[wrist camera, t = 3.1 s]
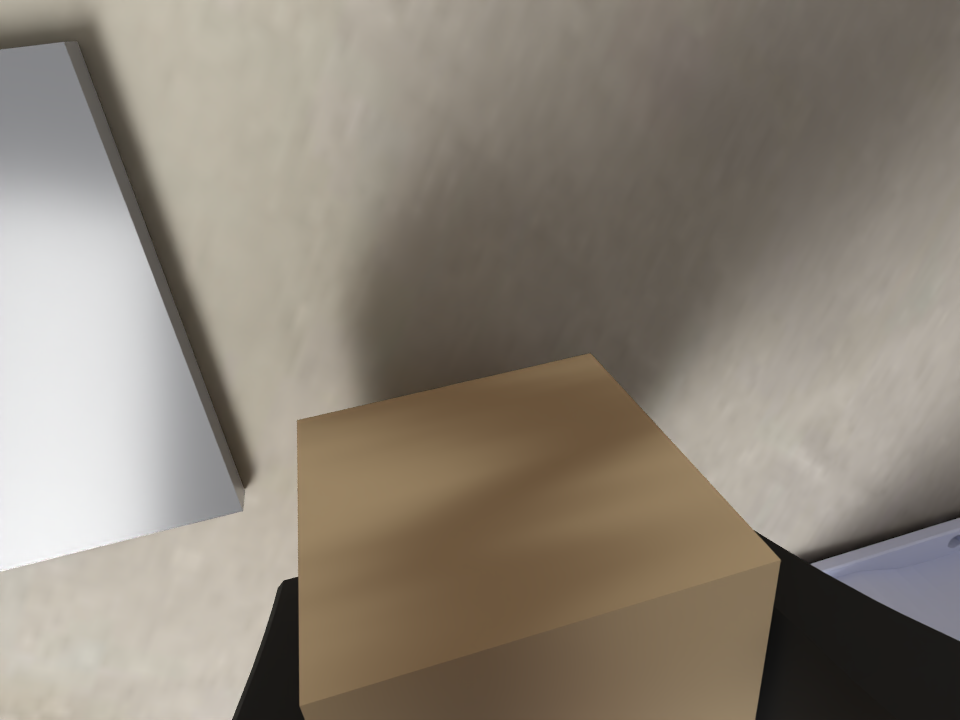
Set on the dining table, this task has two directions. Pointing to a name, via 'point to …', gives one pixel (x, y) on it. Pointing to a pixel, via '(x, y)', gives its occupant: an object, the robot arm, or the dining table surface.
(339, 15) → the dining table surface
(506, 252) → the dining table surface
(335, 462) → the oak block
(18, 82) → the slate coaster
